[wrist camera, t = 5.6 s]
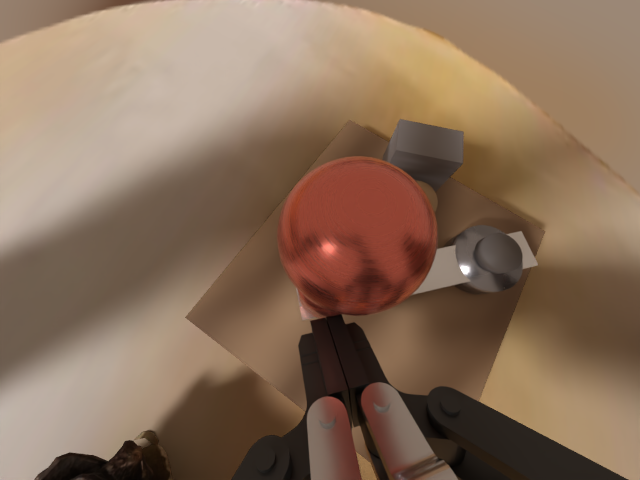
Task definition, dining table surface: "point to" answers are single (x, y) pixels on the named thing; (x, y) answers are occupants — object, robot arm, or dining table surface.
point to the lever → (375, 242)
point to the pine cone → (114, 464)
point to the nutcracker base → (397, 322)
